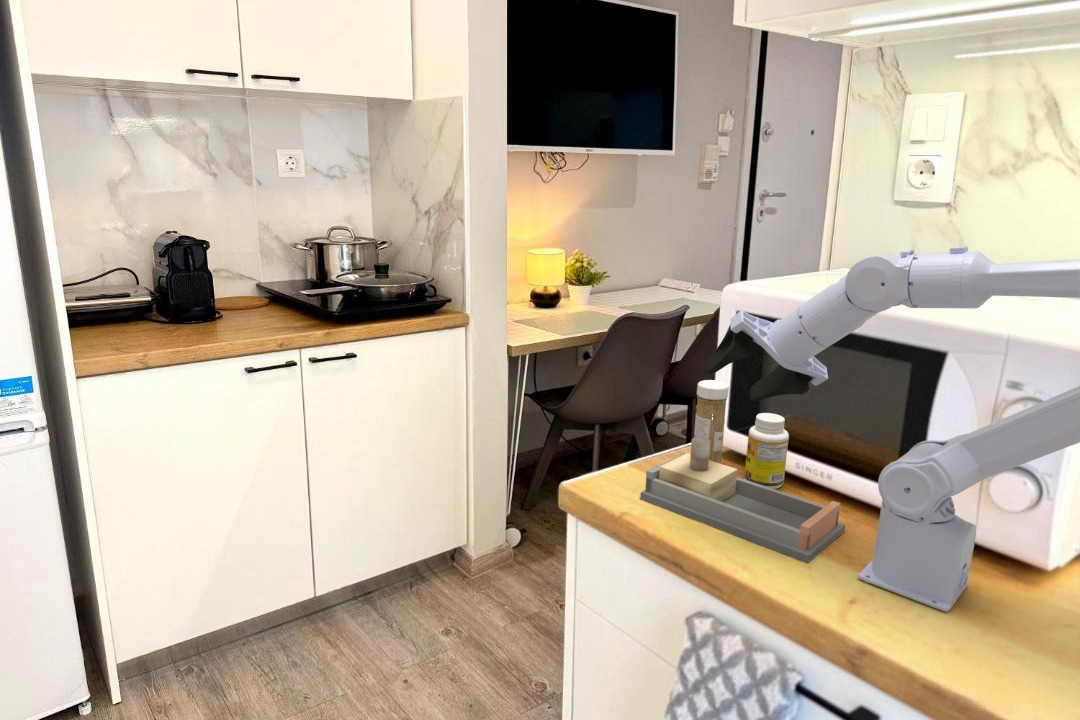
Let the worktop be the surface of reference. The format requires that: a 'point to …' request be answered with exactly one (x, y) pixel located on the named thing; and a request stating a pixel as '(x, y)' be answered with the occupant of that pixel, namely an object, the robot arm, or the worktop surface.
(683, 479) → the beige knobbed block
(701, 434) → the brown spice jar
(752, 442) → the supplement bottle
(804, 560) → the tray
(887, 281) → the robot arm
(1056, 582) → the worktop surface
